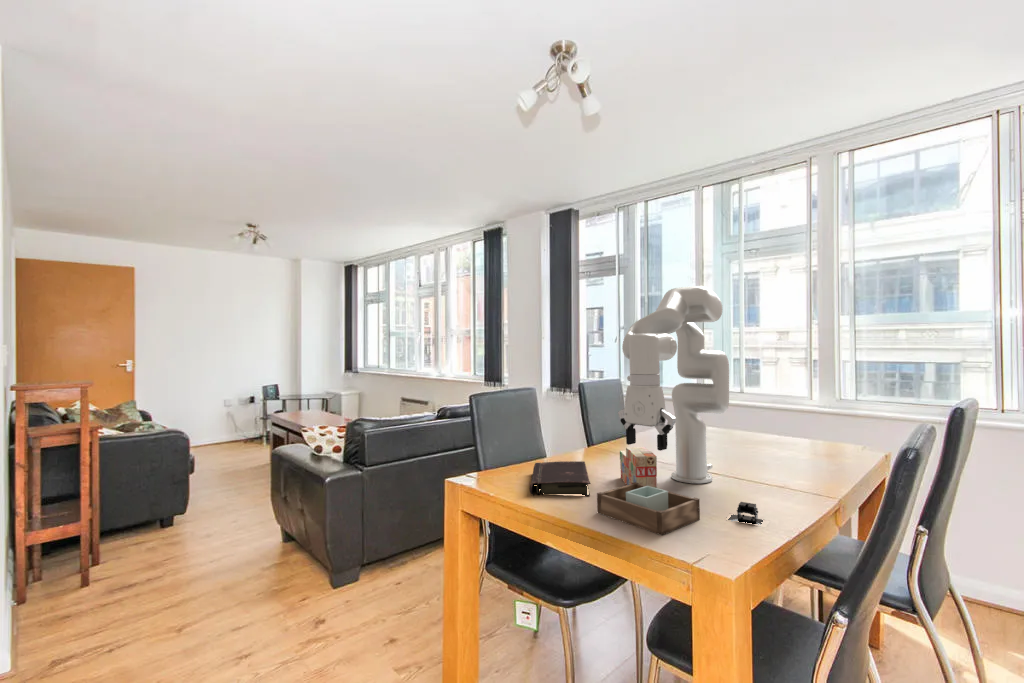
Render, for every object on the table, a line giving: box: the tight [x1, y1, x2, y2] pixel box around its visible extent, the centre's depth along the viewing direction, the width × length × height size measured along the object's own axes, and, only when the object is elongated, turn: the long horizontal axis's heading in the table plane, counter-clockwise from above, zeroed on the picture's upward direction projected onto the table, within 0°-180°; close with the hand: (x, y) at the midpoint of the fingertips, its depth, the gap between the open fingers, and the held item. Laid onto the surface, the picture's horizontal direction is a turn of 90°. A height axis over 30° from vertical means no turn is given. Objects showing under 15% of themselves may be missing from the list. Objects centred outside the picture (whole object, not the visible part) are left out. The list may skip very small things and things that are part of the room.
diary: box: [529, 460, 592, 497], centre depth 154 cm, size 19×25×5 cm
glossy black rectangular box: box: [728, 501, 764, 525], centre depth 120 cm, size 12×7×5 cm, turn 55°
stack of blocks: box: [619, 446, 658, 488], centre depth 150 cm, size 21×6×12 cm, turn 0°
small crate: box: [626, 486, 669, 511], centre depth 124 cm, size 9×6×6 cm
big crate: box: [596, 482, 701, 536], centre depth 124 cm, size 16×20×5 cm
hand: (646, 446), depth 124 cm, fingers open, 9 cm apart
